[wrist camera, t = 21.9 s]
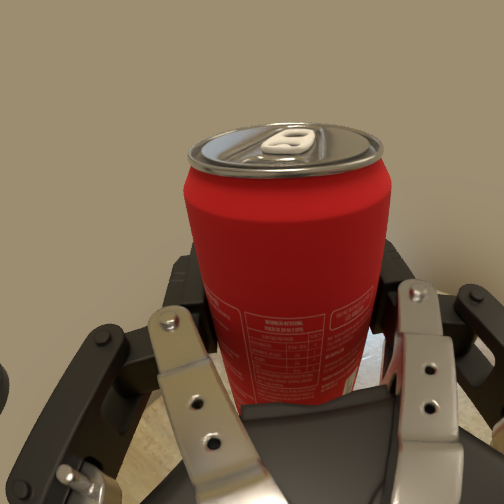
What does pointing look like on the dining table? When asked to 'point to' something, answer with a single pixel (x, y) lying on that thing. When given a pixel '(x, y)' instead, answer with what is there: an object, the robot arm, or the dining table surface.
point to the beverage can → (289, 254)
